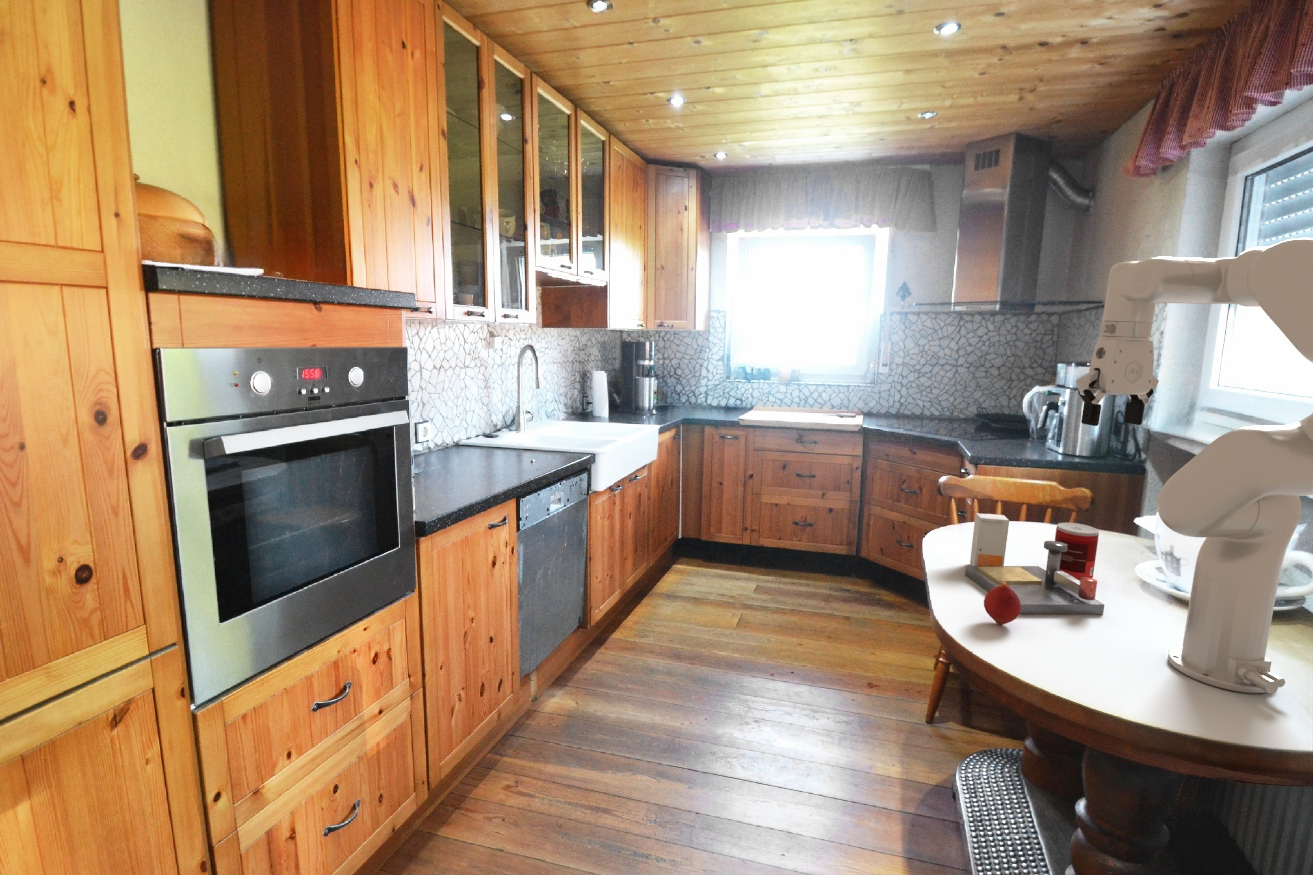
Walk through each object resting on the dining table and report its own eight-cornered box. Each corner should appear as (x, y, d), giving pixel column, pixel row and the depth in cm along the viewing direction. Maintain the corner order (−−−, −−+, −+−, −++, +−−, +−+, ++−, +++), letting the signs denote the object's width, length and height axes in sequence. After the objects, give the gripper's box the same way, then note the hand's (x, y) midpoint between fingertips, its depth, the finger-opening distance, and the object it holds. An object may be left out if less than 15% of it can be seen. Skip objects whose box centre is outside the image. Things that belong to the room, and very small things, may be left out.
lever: (1051, 580, 131) (1053, 563, 130) (1063, 580, 131) (1065, 563, 130) (1084, 600, 121) (1086, 582, 120) (1098, 600, 121) (1100, 582, 120)
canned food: (1080, 571, 145) (1086, 523, 143) (1100, 584, 137) (1107, 534, 135) (1043, 569, 145) (1049, 521, 144) (1062, 582, 138) (1068, 532, 136)
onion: (1014, 619, 119) (1018, 578, 118) (1022, 633, 114) (1027, 589, 112) (979, 615, 121) (983, 574, 119) (985, 629, 115) (990, 585, 114)
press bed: (1103, 614, 122) (1110, 563, 120) (1019, 614, 121) (1025, 563, 120) (1037, 574, 142) (1042, 530, 140) (964, 574, 141) (969, 530, 139)
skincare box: (973, 570, 144) (979, 517, 142) (969, 563, 148) (974, 512, 146) (1004, 573, 143) (1009, 520, 141) (998, 566, 147) (1004, 514, 145)
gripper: (1104, 331, 114) (1089, 428, 117) (1183, 333, 118) (1167, 426, 121) (1068, 330, 121) (1056, 421, 124) (1144, 331, 125) (1130, 420, 128)
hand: (1111, 424), depth 123 cm, fingers open, 9 cm apart
